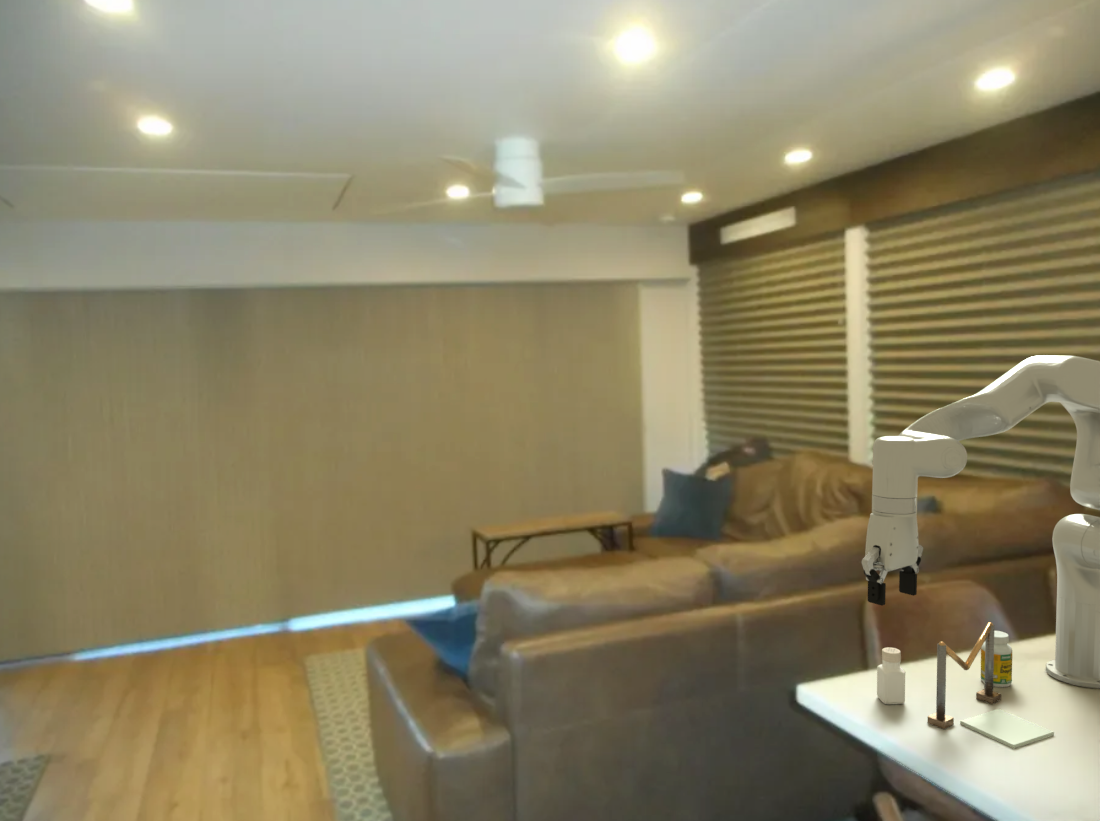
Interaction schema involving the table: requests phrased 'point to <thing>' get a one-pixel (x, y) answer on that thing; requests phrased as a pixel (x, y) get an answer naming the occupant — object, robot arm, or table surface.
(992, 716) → the mat
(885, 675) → the salt shaker
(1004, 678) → the supplement bottle
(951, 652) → the wire hurdle
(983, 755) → the table surface
